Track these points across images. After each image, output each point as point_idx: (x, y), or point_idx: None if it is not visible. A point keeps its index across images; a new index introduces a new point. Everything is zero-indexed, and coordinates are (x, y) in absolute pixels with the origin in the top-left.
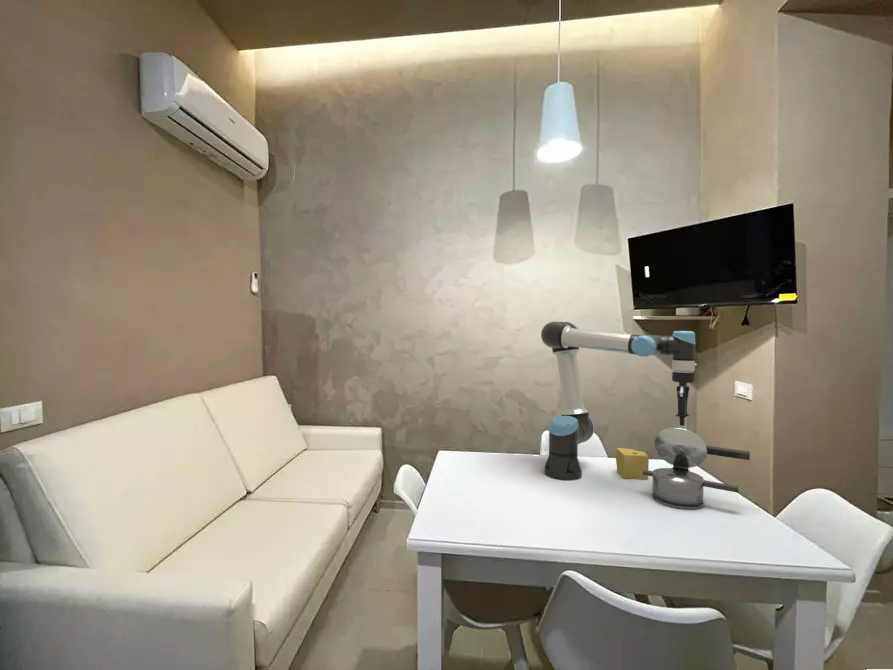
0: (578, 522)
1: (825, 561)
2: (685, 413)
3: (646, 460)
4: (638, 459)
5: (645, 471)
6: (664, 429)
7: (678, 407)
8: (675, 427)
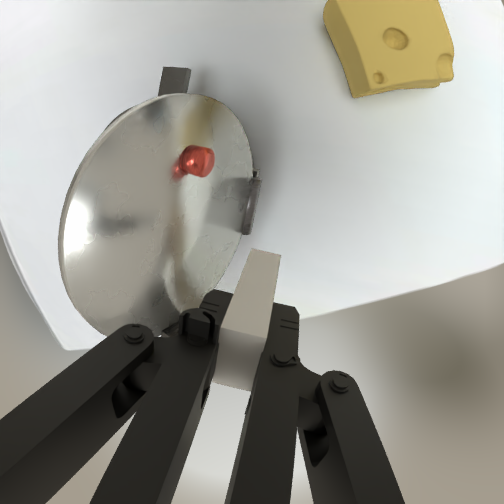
0: (15, 24)
1: (67, 341)
2: (142, 397)
3: (362, 83)
4: (354, 50)
5: (167, 75)
6: (93, 158)
7: (56, 383)
8: (63, 239)
